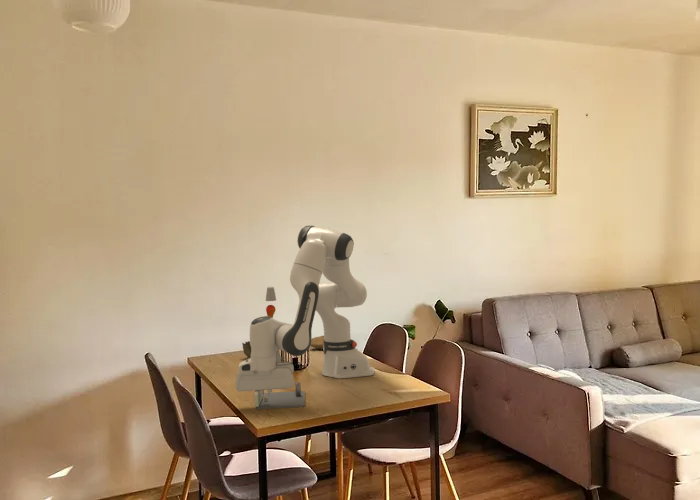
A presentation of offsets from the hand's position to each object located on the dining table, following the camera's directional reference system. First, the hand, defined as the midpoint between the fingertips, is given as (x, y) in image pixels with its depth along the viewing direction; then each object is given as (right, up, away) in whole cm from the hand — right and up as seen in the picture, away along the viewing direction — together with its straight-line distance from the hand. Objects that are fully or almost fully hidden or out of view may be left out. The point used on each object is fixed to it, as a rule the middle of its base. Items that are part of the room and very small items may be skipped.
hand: (266, 401), depth 220 cm
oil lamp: (+17, +3, +93) cm, 95 cm away
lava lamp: (-6, +2, +67) cm, 67 cm away
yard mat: (+5, -1, +7) cm, 8 cm away
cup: (-17, +2, +75) cm, 77 cm away
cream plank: (-3, -1, +2) cm, 4 cm away
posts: (+5, -1, +10) cm, 11 cm away
